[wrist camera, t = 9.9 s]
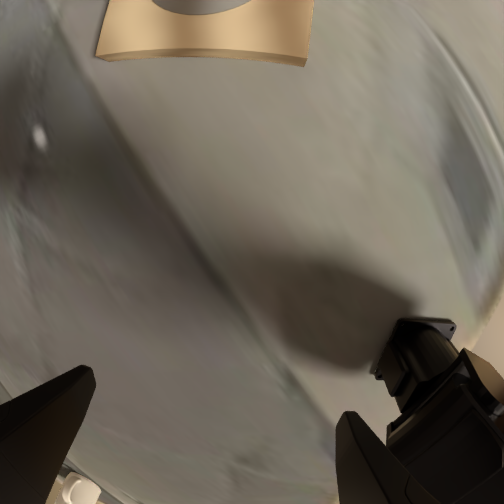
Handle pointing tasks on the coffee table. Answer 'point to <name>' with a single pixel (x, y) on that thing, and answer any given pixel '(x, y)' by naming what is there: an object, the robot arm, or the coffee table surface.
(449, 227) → the coffee table surface
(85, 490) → the mug
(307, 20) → the base slab
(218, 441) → the coffee table surface
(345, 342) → the coffee table surface
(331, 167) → the coffee table surface
